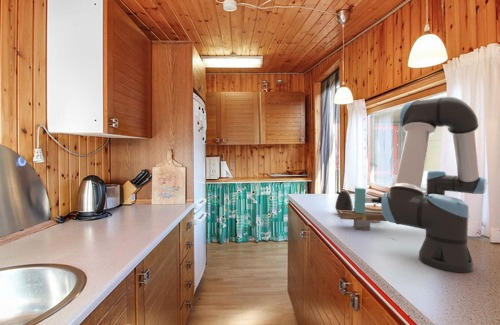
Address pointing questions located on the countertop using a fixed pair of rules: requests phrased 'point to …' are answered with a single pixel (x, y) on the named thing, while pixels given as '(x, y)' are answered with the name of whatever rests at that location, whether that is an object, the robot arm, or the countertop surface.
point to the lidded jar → (373, 209)
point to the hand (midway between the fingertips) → (364, 199)
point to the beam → (361, 218)
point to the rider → (359, 200)
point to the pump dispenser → (344, 201)
